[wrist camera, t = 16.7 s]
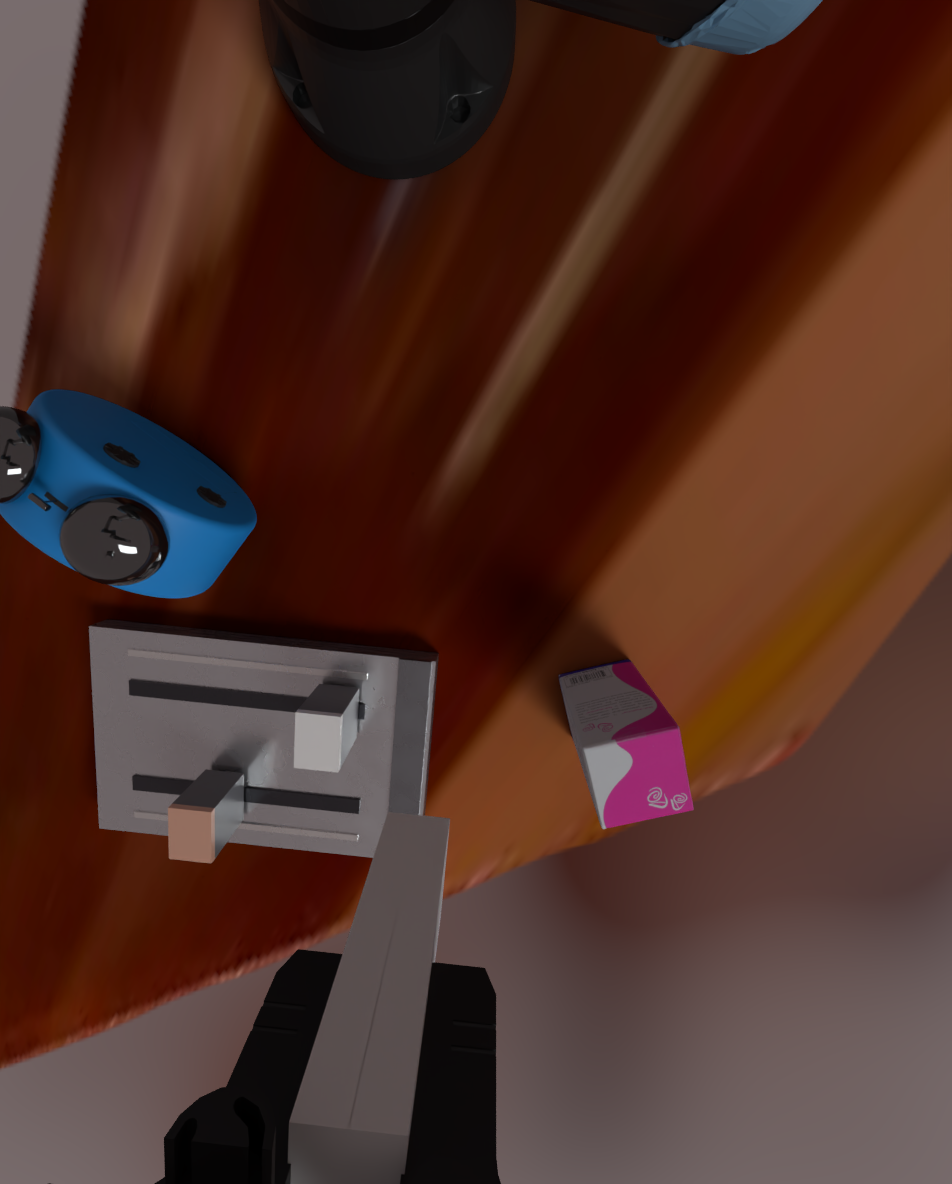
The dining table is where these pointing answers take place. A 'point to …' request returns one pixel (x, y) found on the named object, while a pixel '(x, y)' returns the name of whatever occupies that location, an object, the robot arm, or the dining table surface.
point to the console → (256, 731)
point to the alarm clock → (118, 496)
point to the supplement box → (625, 744)
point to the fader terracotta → (205, 816)
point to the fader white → (326, 728)
